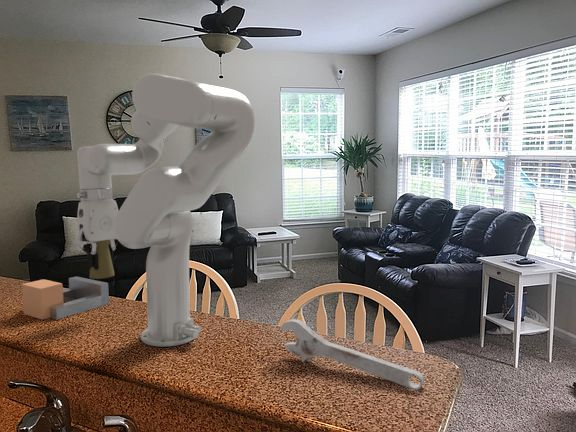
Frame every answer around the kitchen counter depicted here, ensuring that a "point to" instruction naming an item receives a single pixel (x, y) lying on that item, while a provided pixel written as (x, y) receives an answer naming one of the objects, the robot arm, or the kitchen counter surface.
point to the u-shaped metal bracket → (81, 297)
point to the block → (41, 297)
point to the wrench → (345, 355)
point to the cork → (103, 261)
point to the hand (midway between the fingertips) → (101, 266)
